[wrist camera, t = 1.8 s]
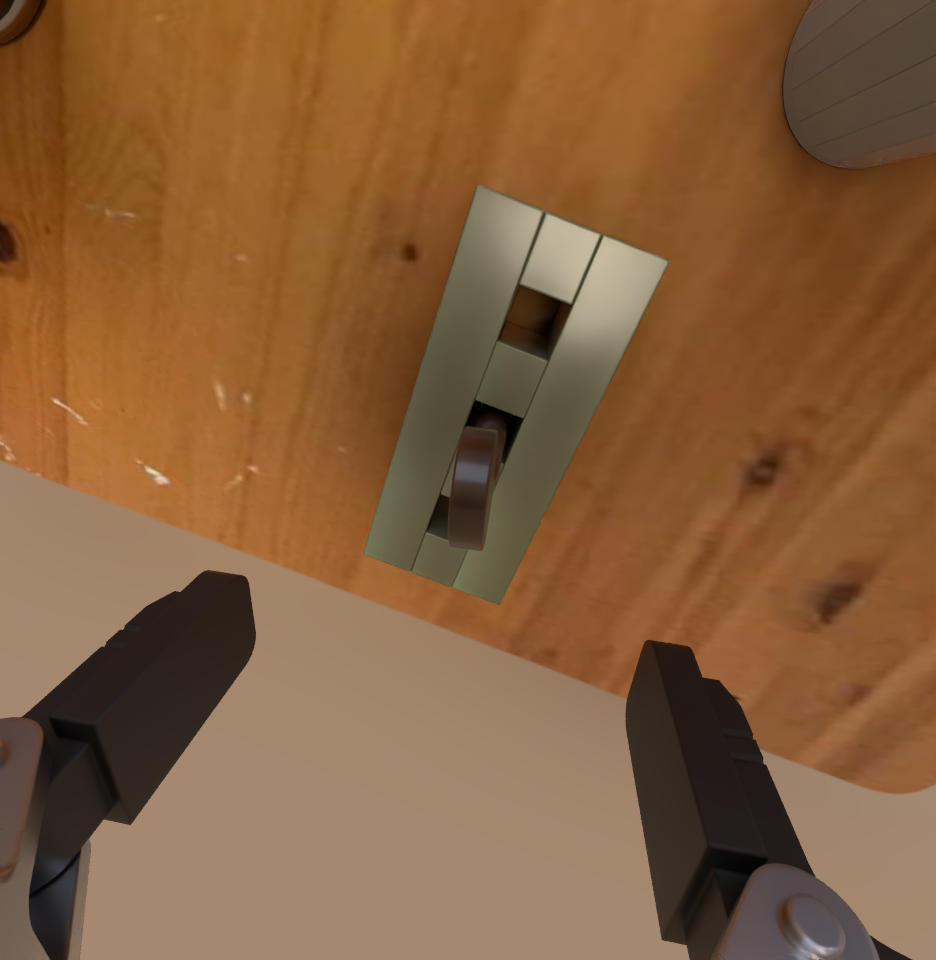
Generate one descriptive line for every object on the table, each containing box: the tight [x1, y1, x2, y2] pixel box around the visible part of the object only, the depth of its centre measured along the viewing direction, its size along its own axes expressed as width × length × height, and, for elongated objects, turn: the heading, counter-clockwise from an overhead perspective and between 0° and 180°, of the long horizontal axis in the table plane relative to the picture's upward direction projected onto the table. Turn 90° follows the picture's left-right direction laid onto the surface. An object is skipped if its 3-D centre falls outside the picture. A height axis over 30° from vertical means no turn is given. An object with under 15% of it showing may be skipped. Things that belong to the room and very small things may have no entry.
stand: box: [363, 184, 669, 605], centre depth 24 cm, size 7×17×6 cm, turn 160°
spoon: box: [448, 404, 510, 551], centre depth 21 cm, size 4×1×14 cm, turn 175°
